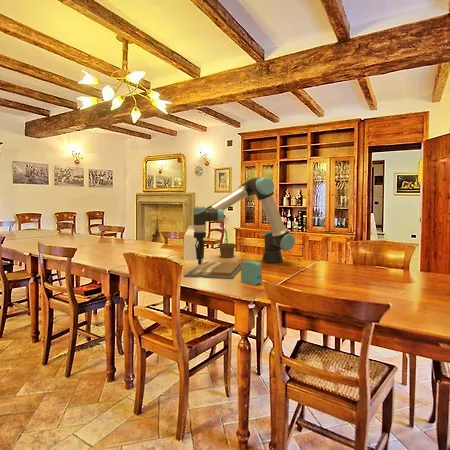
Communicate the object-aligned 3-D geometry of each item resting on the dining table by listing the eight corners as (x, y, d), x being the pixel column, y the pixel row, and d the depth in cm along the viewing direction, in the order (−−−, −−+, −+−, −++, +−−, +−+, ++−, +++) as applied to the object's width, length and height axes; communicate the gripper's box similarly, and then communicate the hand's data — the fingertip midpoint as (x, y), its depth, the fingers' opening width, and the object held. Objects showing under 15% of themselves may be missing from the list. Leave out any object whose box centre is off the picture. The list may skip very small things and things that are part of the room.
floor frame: (243, 266, 230) (243, 262, 230) (232, 279, 196) (232, 273, 196) (201, 265, 237) (201, 261, 237) (184, 276, 203) (184, 271, 203)
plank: (222, 265, 231) (222, 262, 230) (210, 275, 202) (210, 271, 201) (205, 264, 233) (205, 261, 233) (191, 274, 204) (191, 271, 204)
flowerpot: (216, 256, 271) (215, 219, 269) (232, 255, 276) (232, 218, 273) (221, 259, 258) (220, 220, 255) (238, 258, 262) (238, 220, 260)
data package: (262, 284, 184) (261, 262, 183) (256, 285, 181) (256, 263, 180) (246, 280, 193) (246, 259, 192) (240, 281, 190) (240, 260, 189)
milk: (183, 259, 259) (182, 226, 256) (189, 257, 270) (188, 224, 267) (197, 260, 255) (197, 226, 253) (203, 257, 266) (202, 225, 264)
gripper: (197, 230, 213) (197, 266, 215) (190, 232, 201) (191, 271, 203) (208, 230, 212) (209, 267, 214) (202, 232, 199) (203, 271, 201)
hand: (200, 269), depth 208 cm, fingers closed
